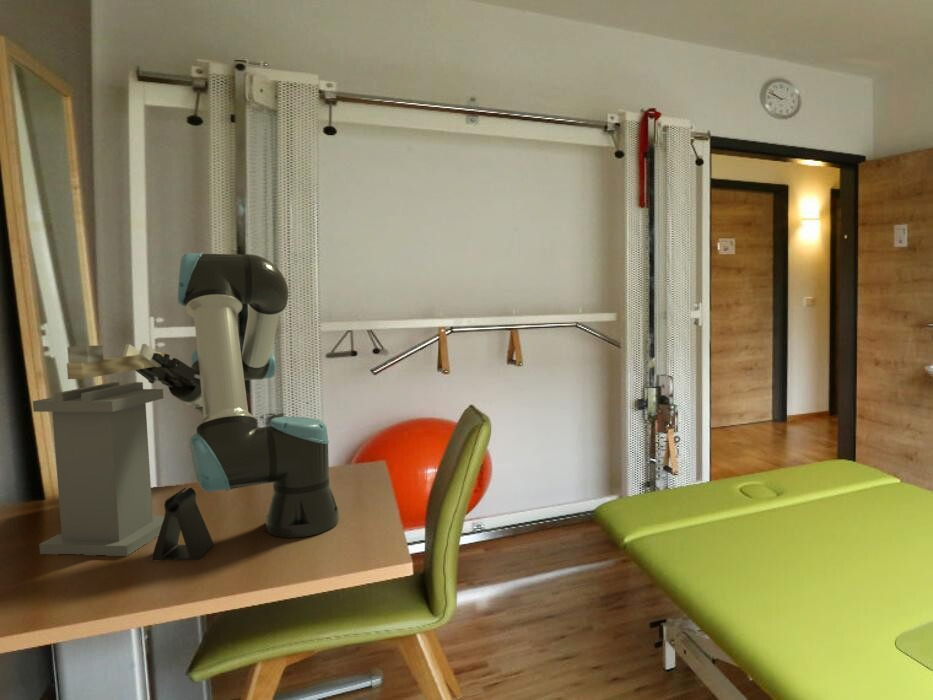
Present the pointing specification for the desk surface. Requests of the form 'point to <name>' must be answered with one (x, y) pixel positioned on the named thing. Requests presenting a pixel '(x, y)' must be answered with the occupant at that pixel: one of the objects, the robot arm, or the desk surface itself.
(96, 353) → the beam
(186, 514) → the dark triangular holder
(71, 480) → the stand
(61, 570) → the desk surface
